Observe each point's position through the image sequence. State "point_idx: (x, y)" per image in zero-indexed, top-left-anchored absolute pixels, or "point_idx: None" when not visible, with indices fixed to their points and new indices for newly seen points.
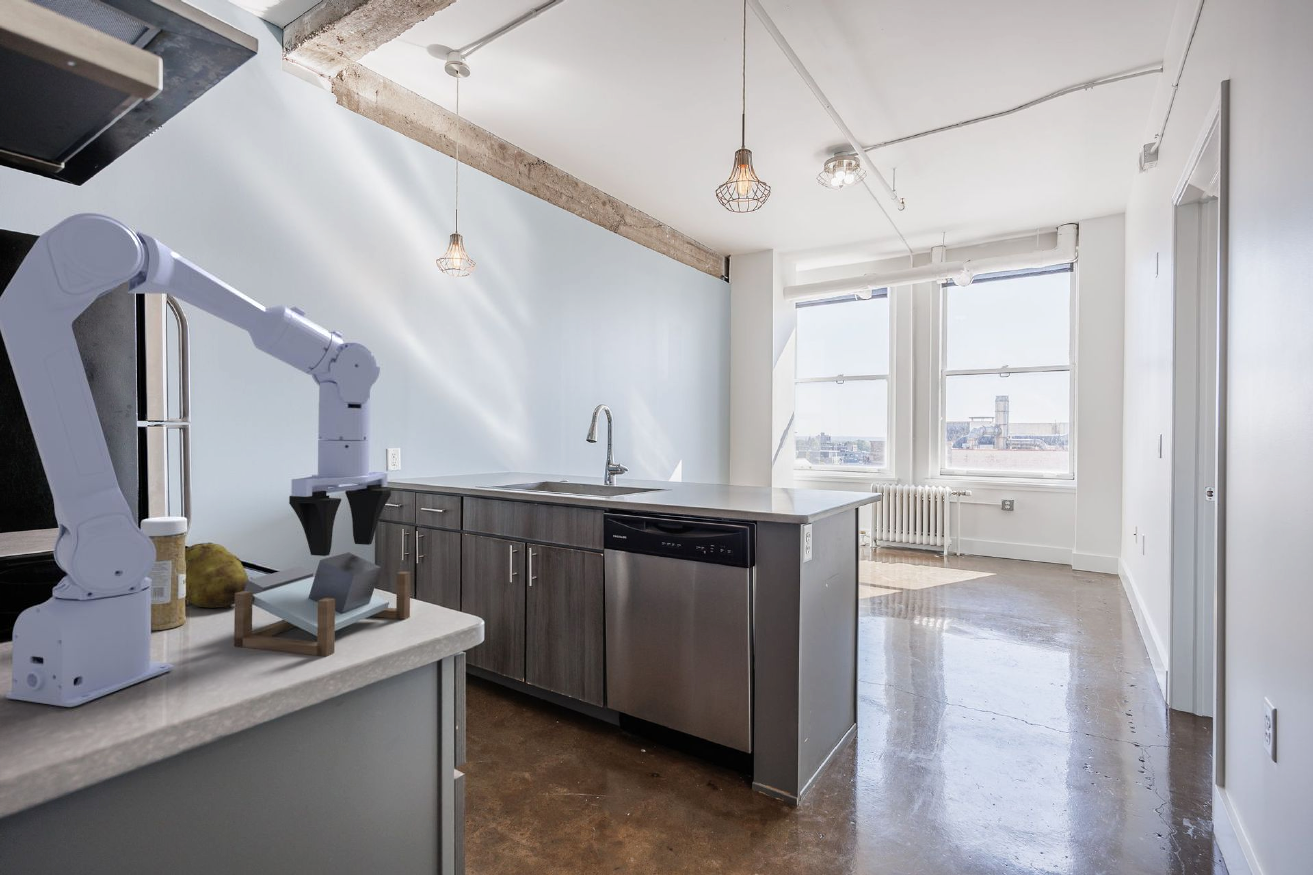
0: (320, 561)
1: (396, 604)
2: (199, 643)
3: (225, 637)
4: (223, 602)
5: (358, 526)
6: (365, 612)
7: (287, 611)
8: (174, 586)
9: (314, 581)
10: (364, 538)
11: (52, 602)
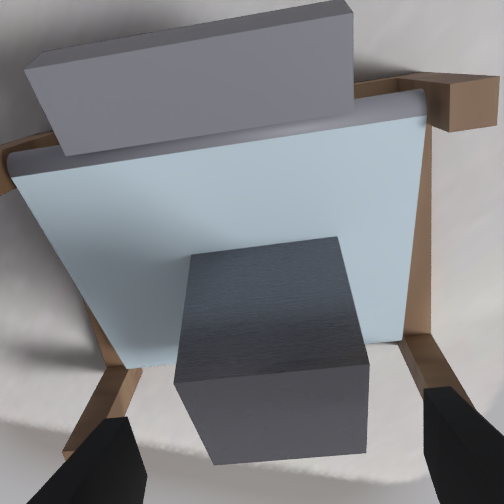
0: (175, 381)
1: (408, 348)
2: None
3: (64, 27)
4: None
5: (471, 488)
6: None
7: (82, 292)
8: None
9: (185, 306)
10: (436, 461)
11: None
